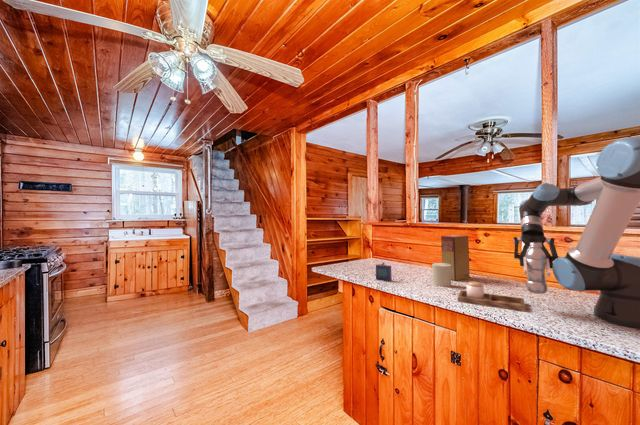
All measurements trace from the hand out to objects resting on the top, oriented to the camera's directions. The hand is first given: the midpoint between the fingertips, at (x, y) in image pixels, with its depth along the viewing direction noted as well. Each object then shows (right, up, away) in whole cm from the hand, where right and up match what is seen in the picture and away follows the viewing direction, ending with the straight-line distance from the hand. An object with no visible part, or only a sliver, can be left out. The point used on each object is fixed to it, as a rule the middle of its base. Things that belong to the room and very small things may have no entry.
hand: (537, 273), depth 102 cm
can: (-19, -16, +38) cm, 46 cm away
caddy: (-12, -15, +10) cm, 22 cm away
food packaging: (-3, -15, +54) cm, 57 cm away
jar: (-16, -15, +13) cm, 25 cm away
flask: (-46, -16, +53) cm, 72 cm away
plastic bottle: (+2, -9, +3) cm, 9 cm away
